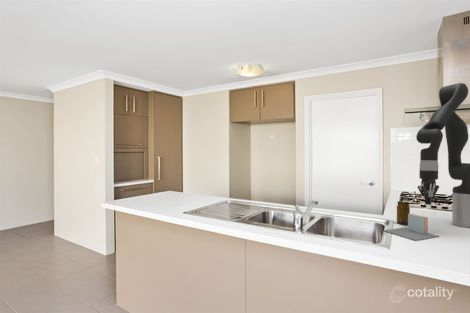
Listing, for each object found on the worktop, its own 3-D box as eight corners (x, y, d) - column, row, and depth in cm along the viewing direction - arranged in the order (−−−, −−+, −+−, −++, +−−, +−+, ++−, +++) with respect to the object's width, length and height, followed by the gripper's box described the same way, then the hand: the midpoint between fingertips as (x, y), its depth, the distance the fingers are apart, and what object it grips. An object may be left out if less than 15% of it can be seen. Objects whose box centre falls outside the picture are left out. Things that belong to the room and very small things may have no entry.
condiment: (403, 221, 151) (403, 200, 150) (416, 225, 142) (416, 203, 142) (392, 222, 149) (392, 201, 149) (405, 226, 141) (405, 203, 140)
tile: (411, 229, 133) (411, 213, 133) (427, 233, 126) (427, 217, 125) (407, 230, 132) (407, 213, 132) (424, 234, 125) (424, 217, 125)
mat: (405, 227, 137) (405, 227, 137) (439, 236, 123) (439, 235, 123) (383, 231, 132) (383, 230, 132) (415, 241, 117) (415, 240, 117)
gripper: (429, 169, 137) (429, 202, 138) (412, 169, 133) (411, 203, 133) (445, 169, 130) (445, 205, 131) (427, 170, 126) (426, 206, 126)
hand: (428, 204), depth 132 cm, fingers closed
